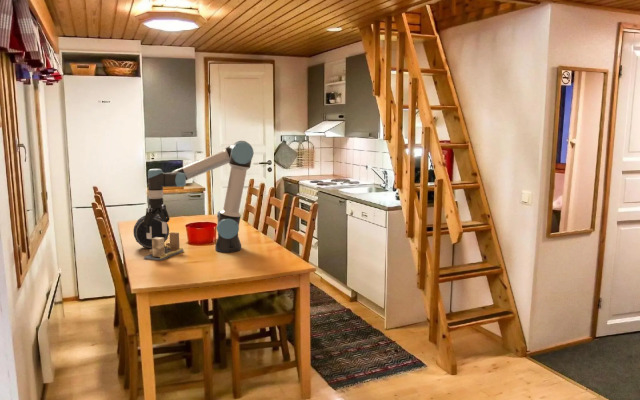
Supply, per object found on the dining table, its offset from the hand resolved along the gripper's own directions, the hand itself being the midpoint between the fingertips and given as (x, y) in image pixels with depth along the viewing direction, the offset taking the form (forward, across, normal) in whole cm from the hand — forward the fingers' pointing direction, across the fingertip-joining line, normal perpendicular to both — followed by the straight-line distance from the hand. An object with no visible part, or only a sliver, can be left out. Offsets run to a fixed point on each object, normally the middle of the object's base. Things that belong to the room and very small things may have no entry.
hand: (157, 236), depth 276 cm
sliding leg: (+11, 0, -1) cm, 11 cm away
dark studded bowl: (+13, -19, -18) cm, 29 cm away
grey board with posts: (+13, -7, -1) cm, 14 cm away
